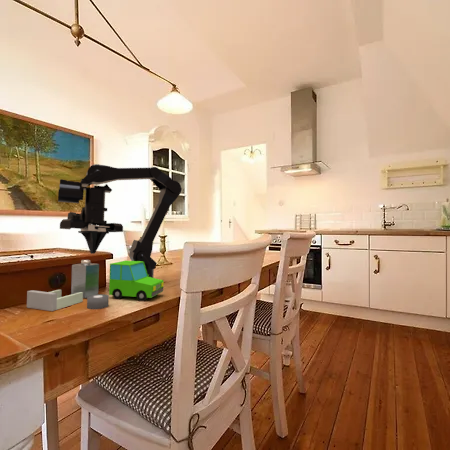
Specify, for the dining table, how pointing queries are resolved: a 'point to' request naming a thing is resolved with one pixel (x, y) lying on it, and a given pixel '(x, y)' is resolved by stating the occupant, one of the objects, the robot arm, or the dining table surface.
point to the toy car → (133, 281)
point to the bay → (51, 300)
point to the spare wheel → (97, 301)
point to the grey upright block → (85, 278)
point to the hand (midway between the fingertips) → (92, 253)
